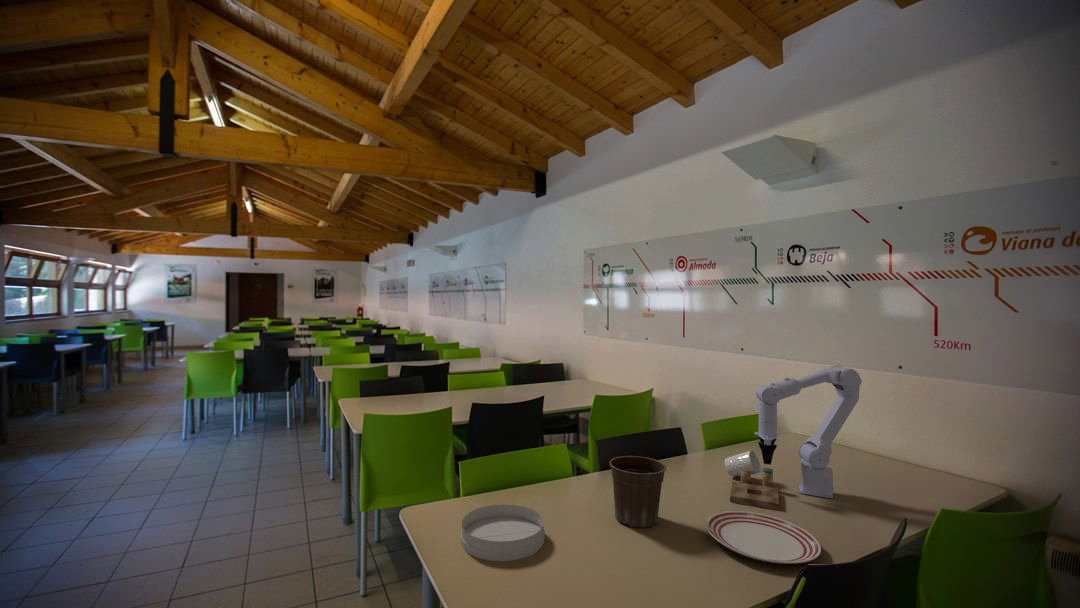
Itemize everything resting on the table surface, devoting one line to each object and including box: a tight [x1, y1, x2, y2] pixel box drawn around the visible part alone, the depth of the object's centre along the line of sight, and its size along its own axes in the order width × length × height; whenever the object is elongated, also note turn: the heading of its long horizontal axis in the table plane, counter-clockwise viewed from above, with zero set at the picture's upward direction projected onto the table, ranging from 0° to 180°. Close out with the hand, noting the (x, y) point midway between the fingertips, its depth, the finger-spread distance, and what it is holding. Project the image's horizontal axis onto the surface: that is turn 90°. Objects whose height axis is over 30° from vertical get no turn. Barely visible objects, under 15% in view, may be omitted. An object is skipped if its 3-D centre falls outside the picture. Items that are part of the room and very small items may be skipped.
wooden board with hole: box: [729, 481, 780, 511], centre depth 159 cm, size 14×14×2 cm
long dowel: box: [761, 467, 774, 488], centre depth 166 cm, size 3×3×7 cm
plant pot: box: [609, 455, 667, 529], centre depth 142 cm, size 16×16×16 cm
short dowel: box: [740, 471, 752, 484], centre depth 171 cm, size 3×3×4 cm
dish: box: [460, 503, 546, 562], centre depth 128 cm, size 22×22×5 cm
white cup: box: [724, 450, 762, 478], centre depth 176 cm, size 8×8×10 cm
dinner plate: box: [705, 510, 822, 565], centre depth 128 cm, size 28×27×3 cm
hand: (767, 460), depth 166 cm, fingers open, 7 cm apart
